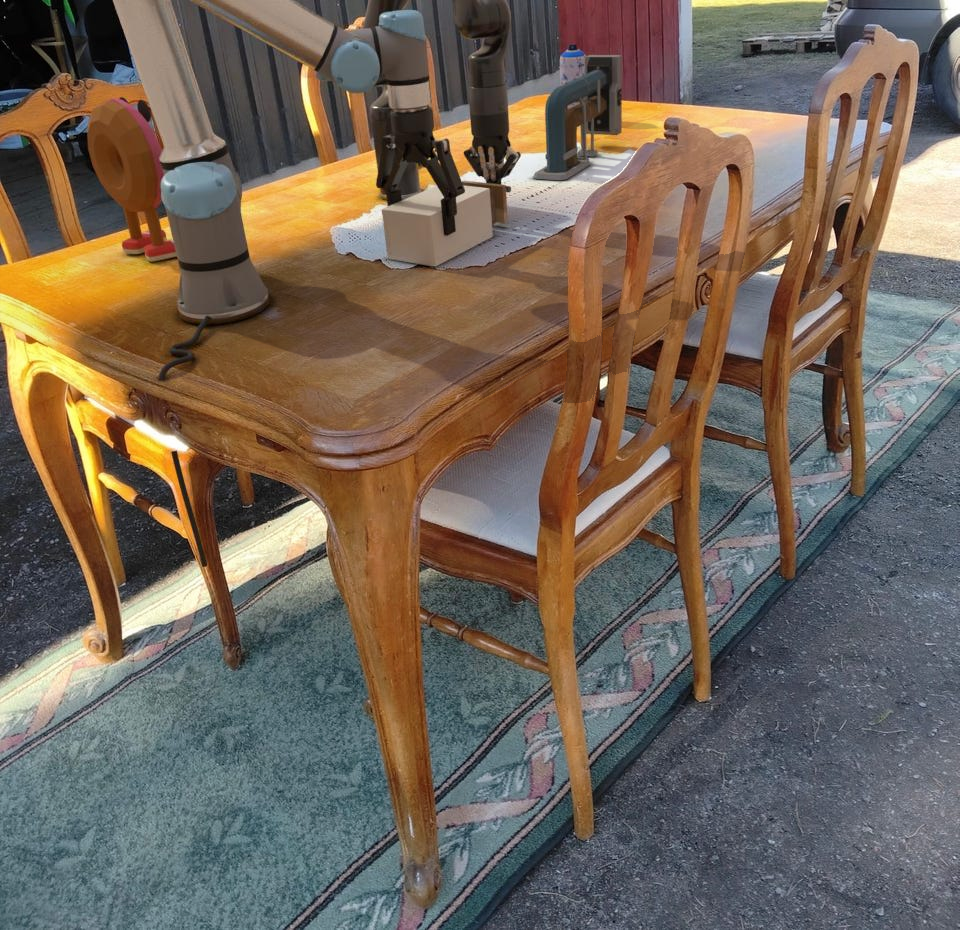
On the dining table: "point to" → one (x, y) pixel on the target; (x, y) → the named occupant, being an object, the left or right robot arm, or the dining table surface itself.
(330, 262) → the dining table surface
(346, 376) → the dining table surface
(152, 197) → the toy
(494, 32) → the right robot arm
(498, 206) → the drawer
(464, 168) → the dining table surface
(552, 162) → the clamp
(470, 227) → the beige cardboard box
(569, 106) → the aerosol can
